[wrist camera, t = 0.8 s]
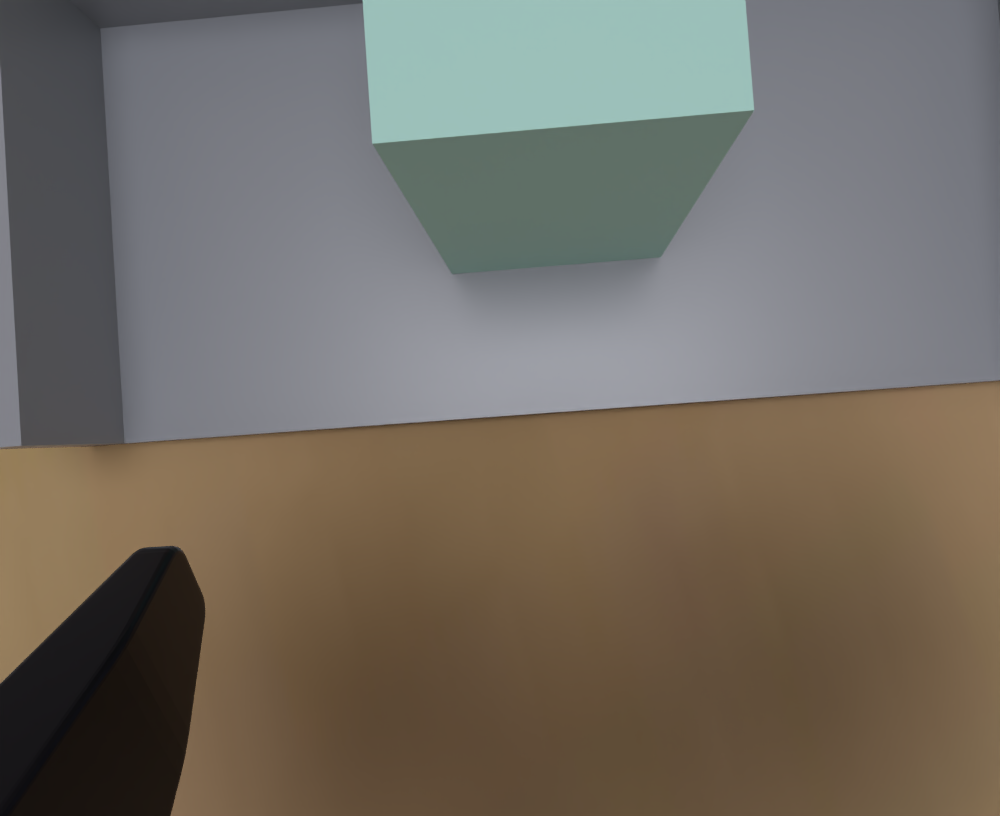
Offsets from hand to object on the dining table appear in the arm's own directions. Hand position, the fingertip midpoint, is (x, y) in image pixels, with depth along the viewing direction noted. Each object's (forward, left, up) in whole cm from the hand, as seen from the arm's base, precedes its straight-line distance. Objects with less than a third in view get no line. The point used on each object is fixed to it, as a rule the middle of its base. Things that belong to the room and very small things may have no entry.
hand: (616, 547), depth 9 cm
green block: (+5, +6, -12) cm, 15 cm away
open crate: (+5, +6, -13) cm, 15 cm away
